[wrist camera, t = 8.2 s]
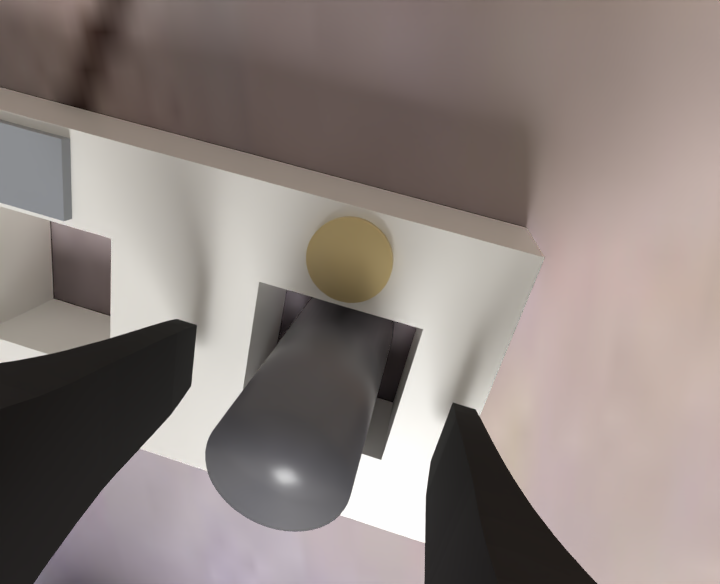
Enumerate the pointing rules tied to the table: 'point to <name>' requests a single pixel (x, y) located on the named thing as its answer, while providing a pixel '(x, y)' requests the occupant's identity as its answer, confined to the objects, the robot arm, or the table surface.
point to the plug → (302, 420)
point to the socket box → (256, 277)
